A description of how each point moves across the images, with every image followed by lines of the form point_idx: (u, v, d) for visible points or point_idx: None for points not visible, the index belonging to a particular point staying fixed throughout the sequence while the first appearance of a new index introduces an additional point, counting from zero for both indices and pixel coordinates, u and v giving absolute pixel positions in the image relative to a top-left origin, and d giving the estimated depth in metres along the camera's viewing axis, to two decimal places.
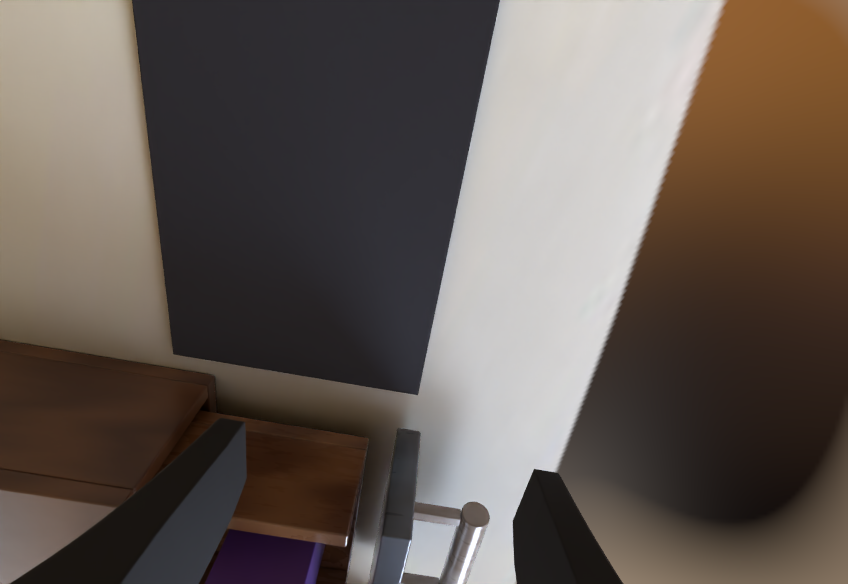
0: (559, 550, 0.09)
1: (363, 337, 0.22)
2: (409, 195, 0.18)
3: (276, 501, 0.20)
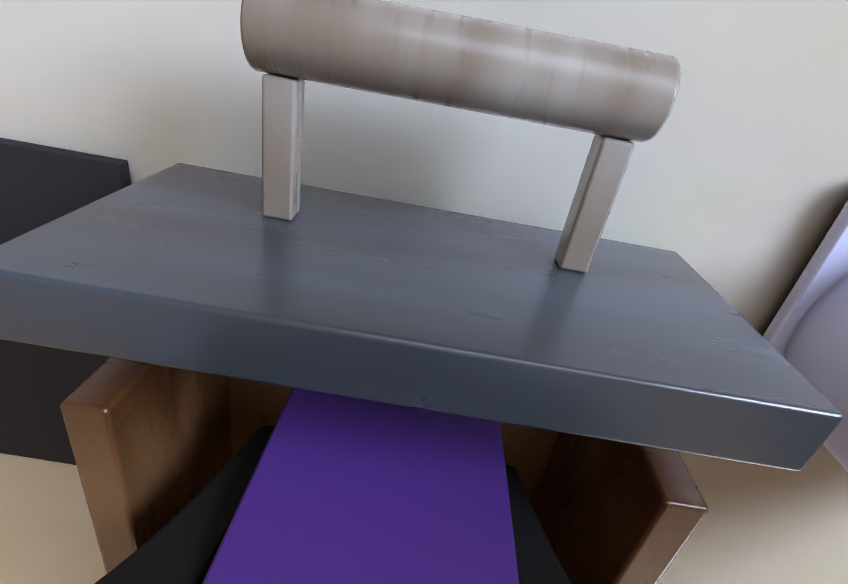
0: None
1: None
2: None
3: None
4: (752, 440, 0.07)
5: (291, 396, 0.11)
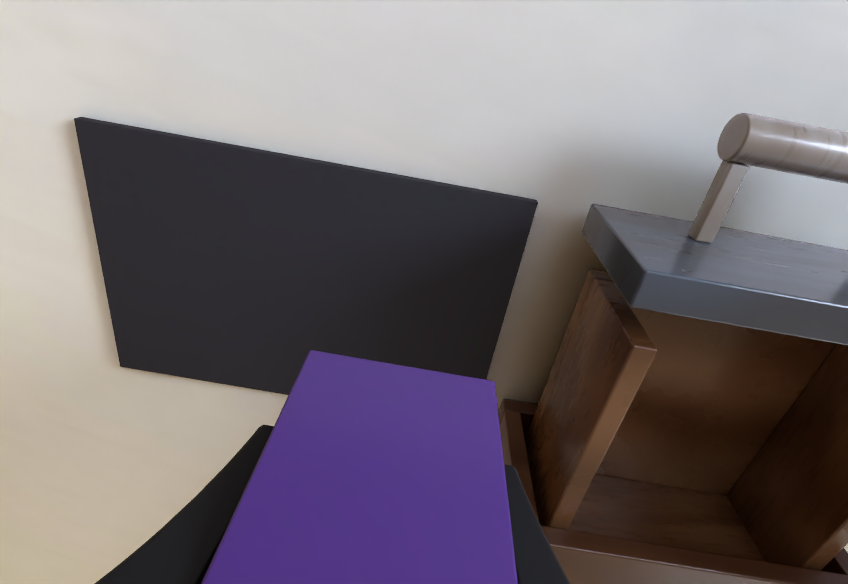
0: None
1: (450, 258, 0.20)
2: (285, 204, 0.19)
3: (588, 403, 0.16)
4: None
5: (289, 397, 0.11)
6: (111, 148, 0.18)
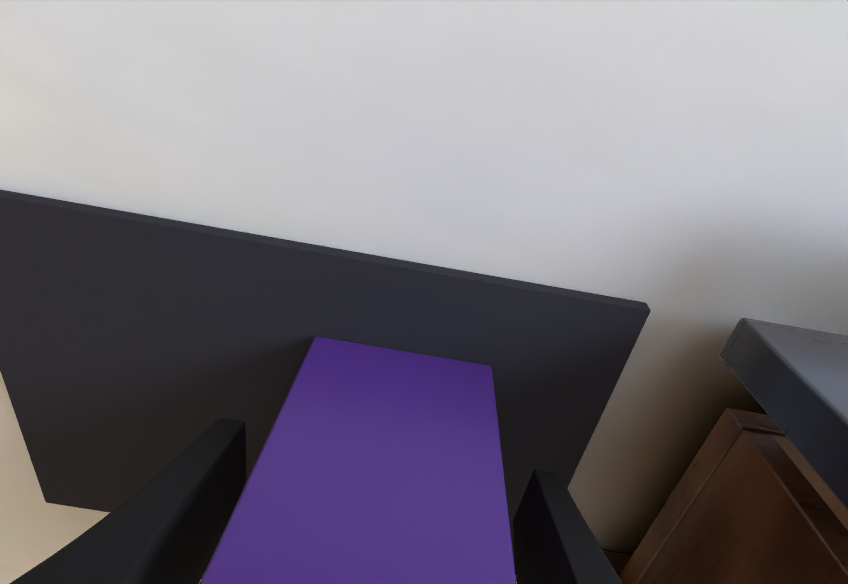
0: (559, 550, 0.09)
1: (511, 381, 0.13)
2: (266, 307, 0.13)
3: None
4: None
5: (296, 379, 0.11)
6: None
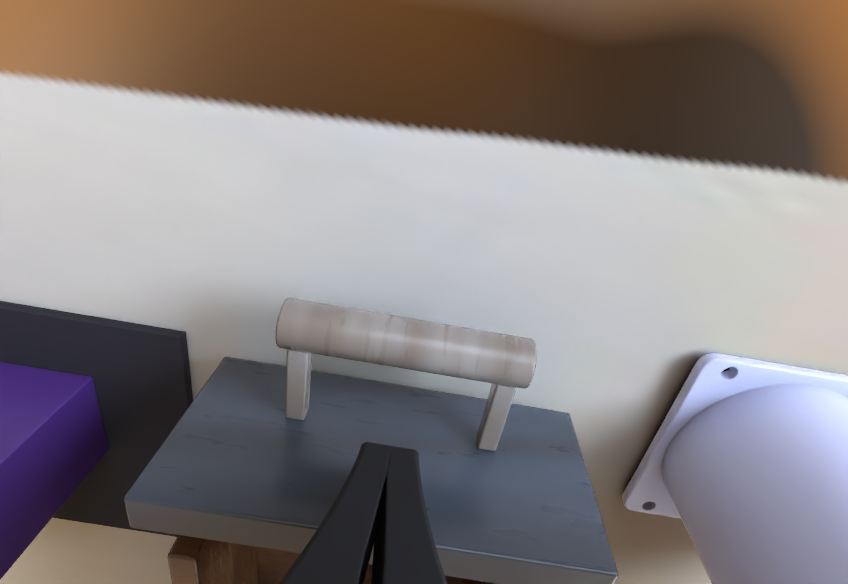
0: (384, 522, 0.09)
1: (113, 388, 0.18)
2: None
3: None
4: None
5: None
6: None
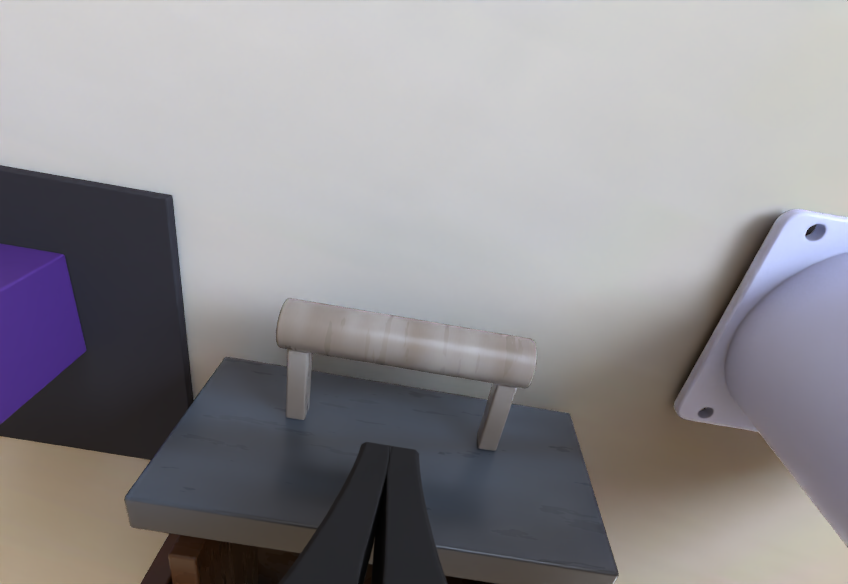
0: (384, 522, 0.09)
1: (89, 269, 0.16)
2: None
3: None
4: None
5: None
6: None
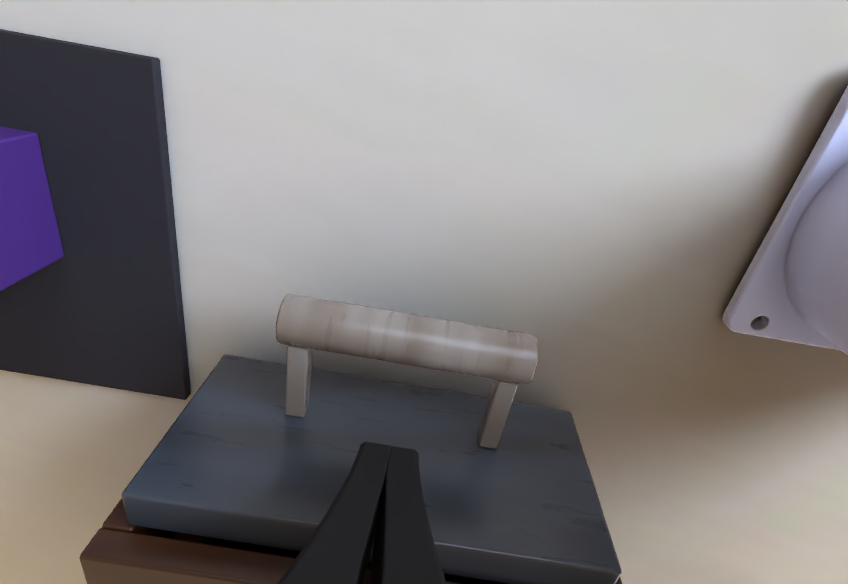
0: (384, 522, 0.09)
1: (65, 152, 0.14)
2: None
3: None
4: (573, 583, 0.12)
5: None
6: None
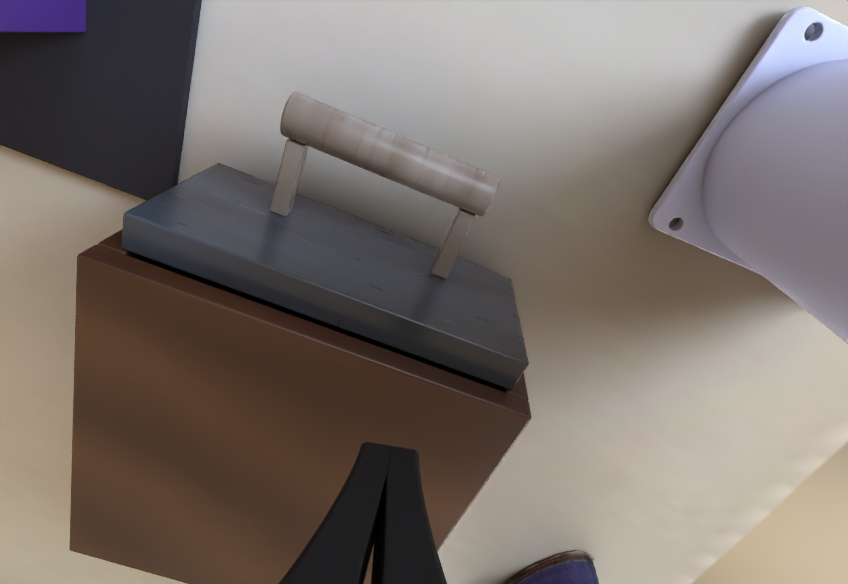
0: (384, 522, 0.09)
1: None
2: None
3: None
4: (489, 369, 0.15)
5: None
6: None
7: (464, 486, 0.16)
